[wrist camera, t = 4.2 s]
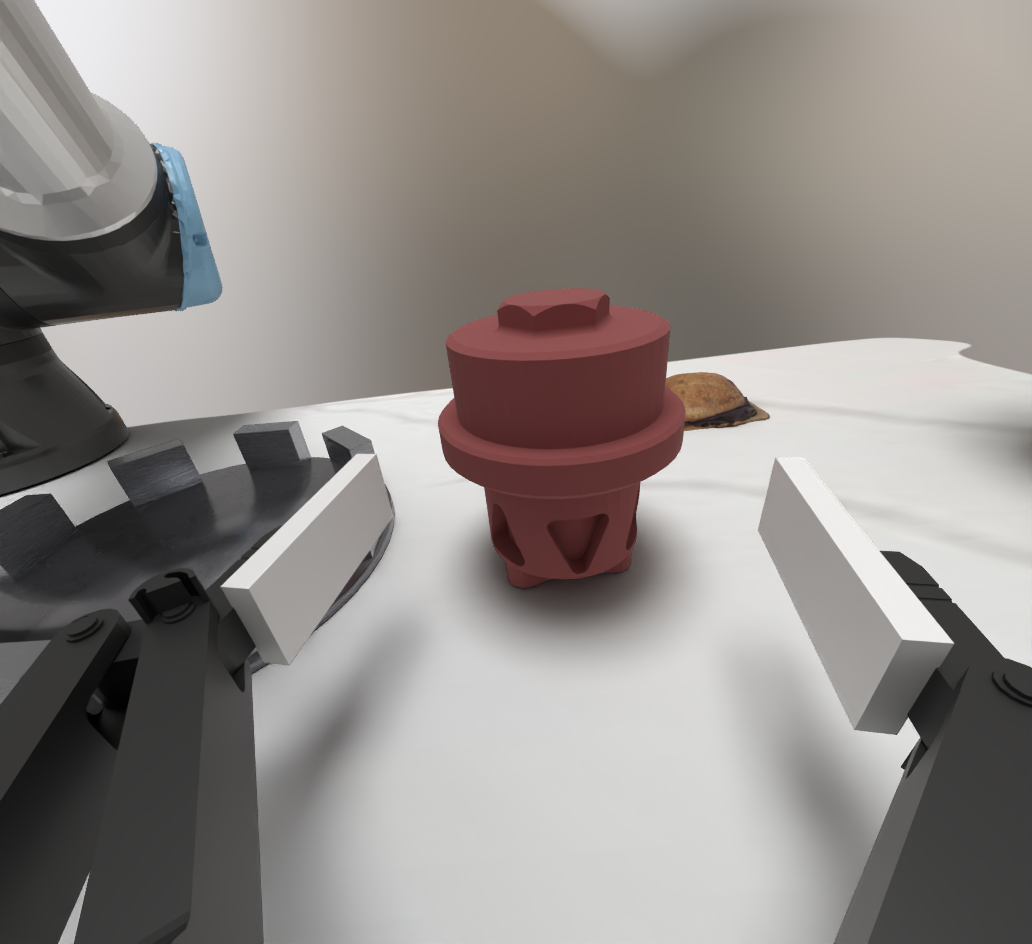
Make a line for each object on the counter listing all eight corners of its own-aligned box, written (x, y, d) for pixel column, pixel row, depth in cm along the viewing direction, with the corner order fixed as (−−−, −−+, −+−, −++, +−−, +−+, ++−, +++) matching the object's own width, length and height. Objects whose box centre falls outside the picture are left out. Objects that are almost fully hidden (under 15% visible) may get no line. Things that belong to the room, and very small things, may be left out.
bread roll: (723, 393, 41) (729, 354, 39) (776, 429, 33) (787, 383, 31) (610, 404, 40) (611, 365, 39) (639, 443, 33) (642, 397, 31)
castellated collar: (158, 474, 34) (134, 433, 32) (423, 454, 33) (413, 410, 32) (-249, 765, 16) (-355, 706, 14) (313, 735, 15) (277, 668, 13)
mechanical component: (710, 558, 21) (554, 681, 16) (568, 481, 28) (430, 550, 23) (760, 282, 15) (533, 345, 10) (562, 274, 22) (374, 308, 17)
